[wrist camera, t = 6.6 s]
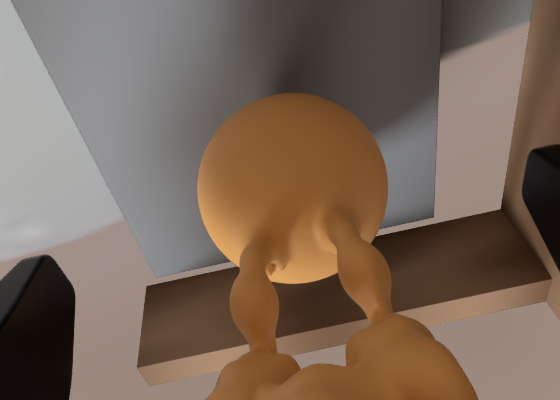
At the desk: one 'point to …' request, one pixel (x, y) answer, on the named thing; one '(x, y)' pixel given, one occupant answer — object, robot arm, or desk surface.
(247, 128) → the figurine
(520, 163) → the notched stand
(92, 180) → the desk surface
